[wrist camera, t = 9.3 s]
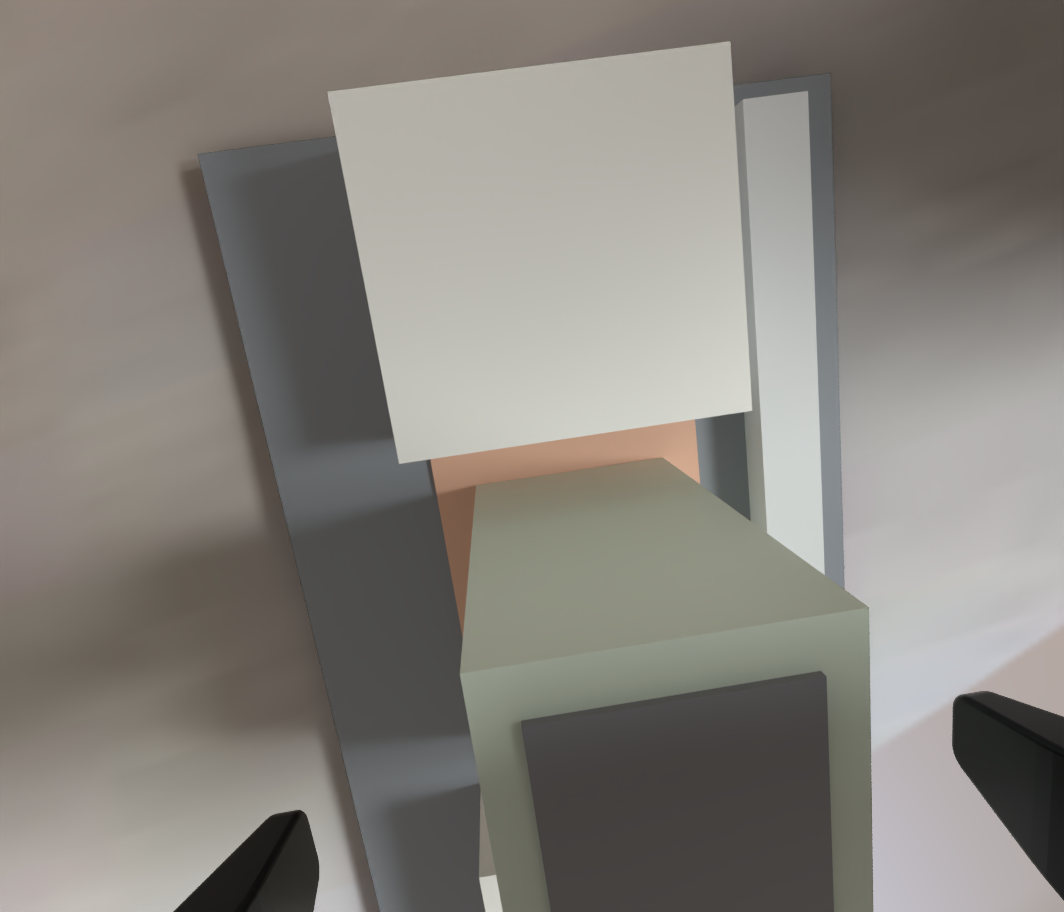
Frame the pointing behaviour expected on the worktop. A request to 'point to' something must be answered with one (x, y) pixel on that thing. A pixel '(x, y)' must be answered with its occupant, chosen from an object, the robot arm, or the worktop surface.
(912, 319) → the worktop surface
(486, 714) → the block
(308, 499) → the rail board
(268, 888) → the robot arm
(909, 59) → the worktop surface
